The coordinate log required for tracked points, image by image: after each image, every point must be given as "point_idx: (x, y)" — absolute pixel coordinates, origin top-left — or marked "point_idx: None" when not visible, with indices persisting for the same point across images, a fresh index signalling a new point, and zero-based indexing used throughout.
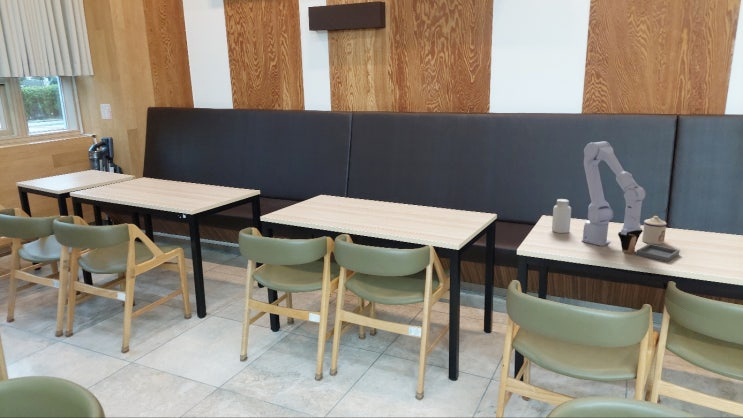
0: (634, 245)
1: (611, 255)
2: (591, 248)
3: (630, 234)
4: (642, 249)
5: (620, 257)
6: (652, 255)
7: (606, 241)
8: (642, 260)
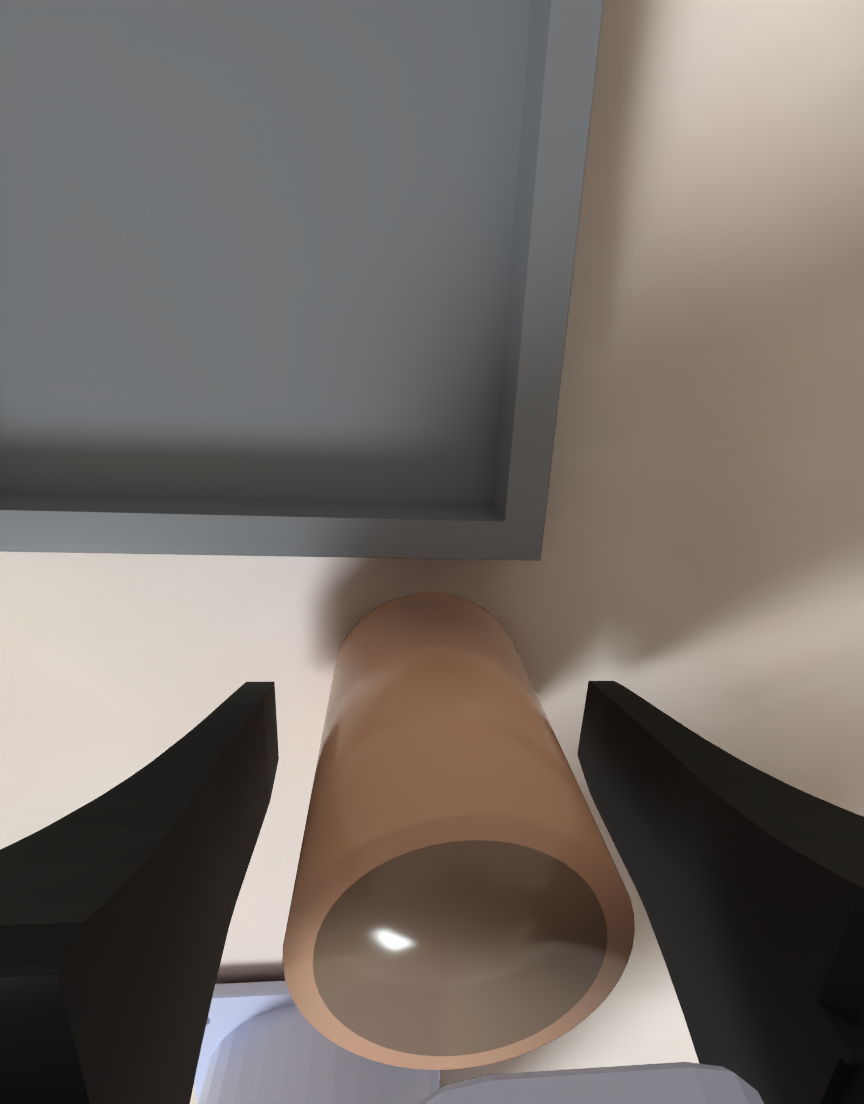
0: (466, 666)
1: (750, 760)
2: (610, 997)
3: (322, 995)
4: (335, 513)
5: (772, 651)
6: (570, 212)
7: (278, 1021)
8: (736, 347)
